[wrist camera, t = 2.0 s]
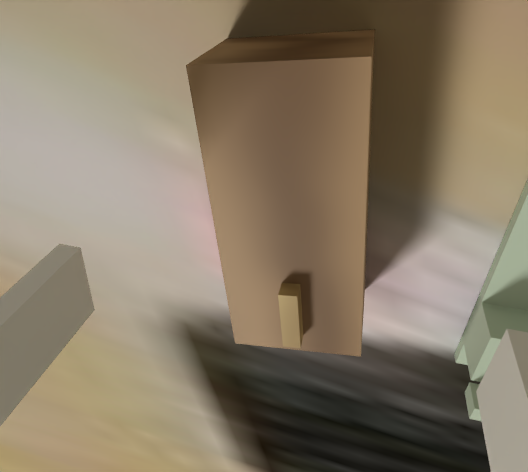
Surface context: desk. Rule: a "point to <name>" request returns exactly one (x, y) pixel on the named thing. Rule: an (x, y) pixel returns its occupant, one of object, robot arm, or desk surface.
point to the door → (289, 182)
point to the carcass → (498, 303)
